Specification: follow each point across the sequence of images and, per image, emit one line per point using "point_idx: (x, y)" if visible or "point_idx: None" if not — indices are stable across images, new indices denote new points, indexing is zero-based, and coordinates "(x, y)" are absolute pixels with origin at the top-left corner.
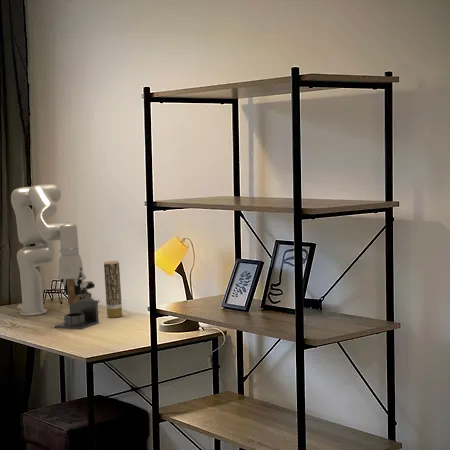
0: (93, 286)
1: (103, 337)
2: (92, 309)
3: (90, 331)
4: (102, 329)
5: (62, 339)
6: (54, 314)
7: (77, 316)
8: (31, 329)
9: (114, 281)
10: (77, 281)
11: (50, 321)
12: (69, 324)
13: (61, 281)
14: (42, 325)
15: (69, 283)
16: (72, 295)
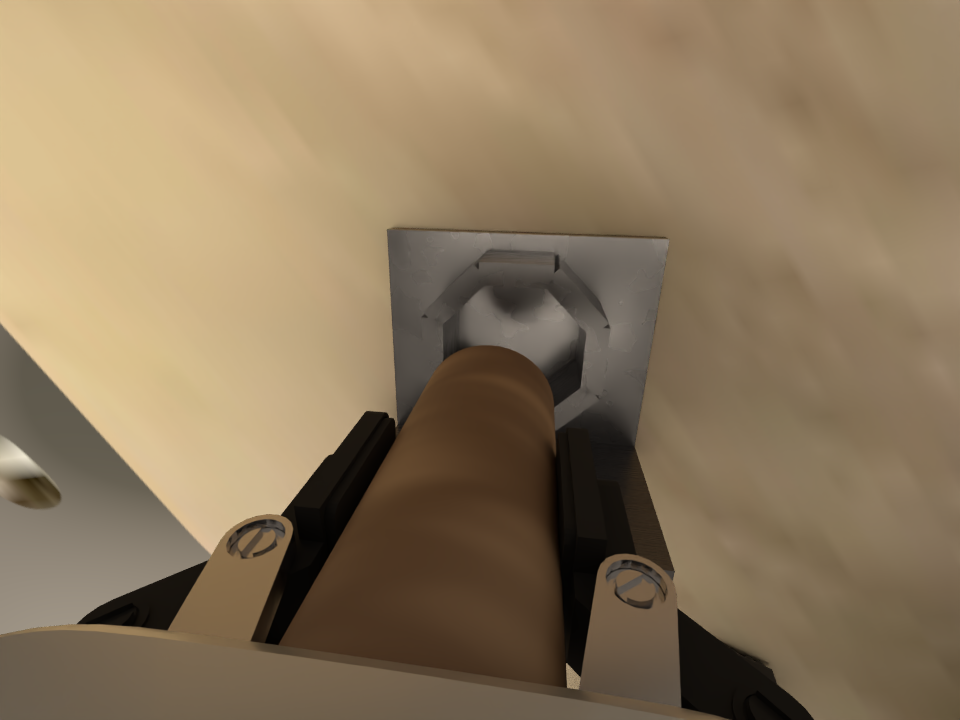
0: None
1: (34, 9)
2: None
3: (278, 183)
4: (244, 266)
5: None
6: (905, 637)
7: (435, 301)
8: (882, 118)
9: None
10: (194, 618)
11: (828, 441)
12: (511, 251)
13: (777, 693)
14: (836, 299)
15: (408, 540)
16: (431, 397)
